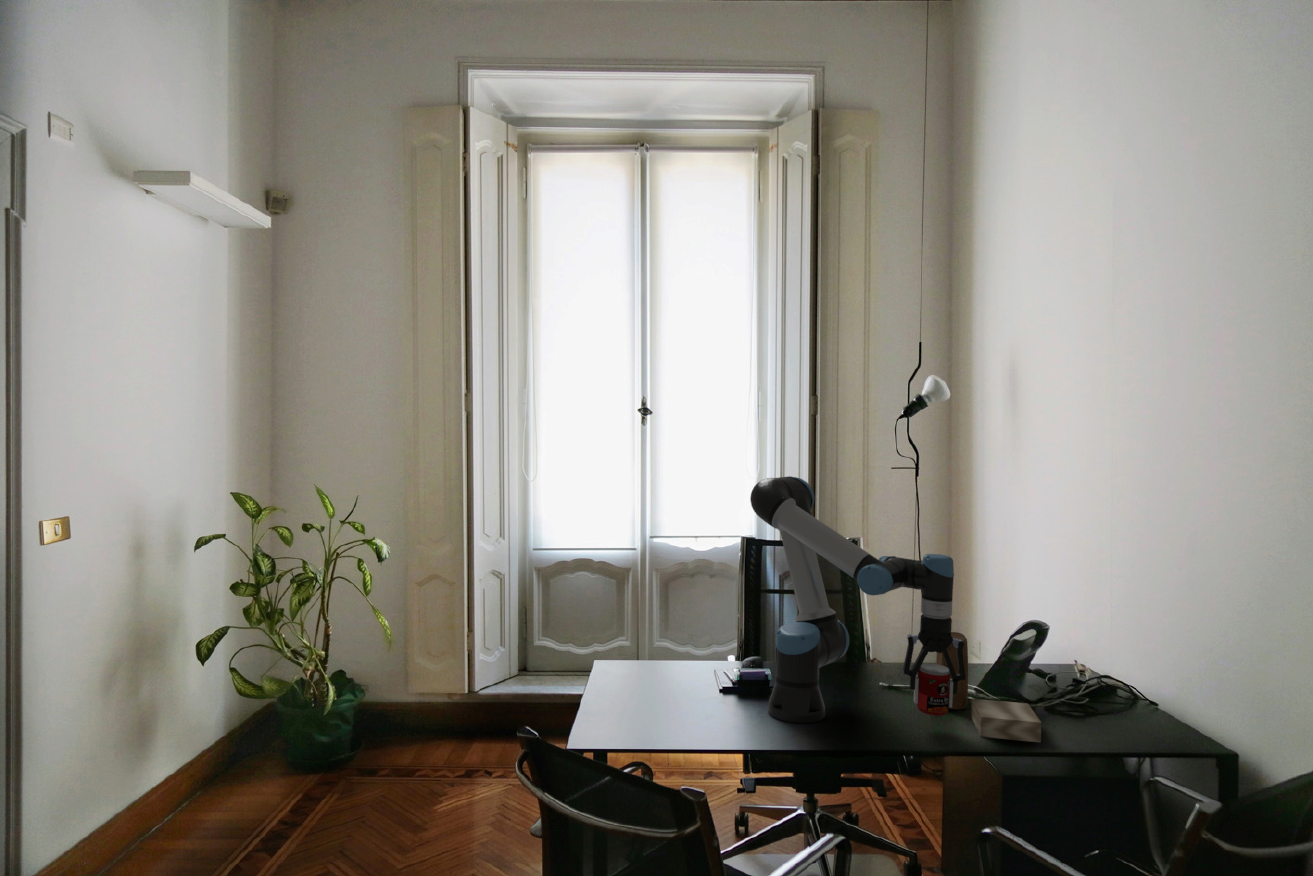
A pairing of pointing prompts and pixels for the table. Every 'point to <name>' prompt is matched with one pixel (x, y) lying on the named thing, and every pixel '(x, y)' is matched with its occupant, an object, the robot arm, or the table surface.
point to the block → (957, 671)
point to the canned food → (933, 689)
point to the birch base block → (1006, 720)
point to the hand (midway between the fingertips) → (932, 703)
